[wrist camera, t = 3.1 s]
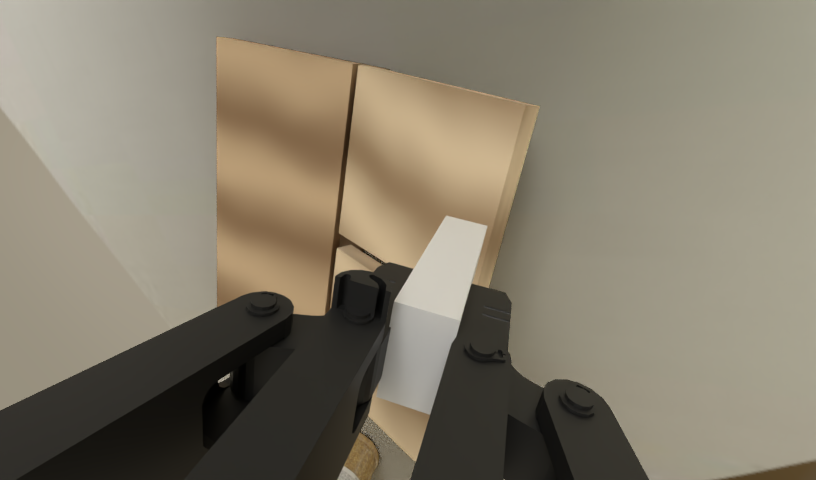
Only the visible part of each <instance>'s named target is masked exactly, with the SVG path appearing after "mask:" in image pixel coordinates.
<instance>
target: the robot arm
mask: <svg viewBox="0 0 816 480" xmlns="http://www.w3.org/2000/svg"><path fill="white" fill-rule="evenodd" d="M486 230H487V226H486V225H482V224H478V223H474V222H470V221H466V220H462V219H458V218H454V217H450V216H446V217H445V218H444V220H443V221H442V223H441V225H440V226H439V228H438V230H437V231H436V233H435V235H434V236H433V238H432V240H431V241H430V243H429V244H428V246H427V248H426V249H425V251H424V253H423V254H422V256H421V258H420V259H419V261H418V263H417V264H416V266H415V268H414V269H413V268H409V267H406V266H402V265H398V264H395V263H391V262H388V263H386V264H384V265H381V266H379V267H377V268H376V270H375V271H374V272H371V271H365V270H348V271H344V272H341V273H339V274H338V275H336V276H335V281H334V290H333V298H332V306H331V308H330V309H329V311H328V312H327V313H326V314H325V315H322V316H312V315H301V314H293V312H294V306H293V303H292V301H291V300H290V299H288V298H287V297H286V296H284V295H281V294H278V293H275V292H268V291H261V292H251V293H248V294H245V295H242V296H240V297H238V298H236V299H234V300H231V301H229V302H227V303H225V304H223V305H221V306H219V307H217V308H215V309H213V310H210V311H208V312H206V313H204V314H202V315H200V316H198V317H196V318H194V319H192V320H189V321H187V322H185V323H183V324H181V325H179V326H177V327H175V328H173V329H171V330H169V331H166V332H164V333H162V334H160V335H158V336H156V337H154V338H152V339H150V340H148V341H145V342H143V343H141V344H139V345H137V346H135V347H133V348H131V349H129V350H127V351H124V352H122V353H120V354H118V355H116V356H114V357H112V358H110V359H108V360H106V361H103V362H101V363H99V364H97V365H95V366H93V367H91V368H89V369H87V370H84V371H82V372H81V373H78V374H76V375H74V376H72V377H70V378H68V379H66V380H63V381H62V382H59V383H57V384H55V385H53V386H51V387H49V388H47V389H45V390H42V391H40V392H38V393H36V394H34V395H32V396H30V397H28V398H26V399H24V400H22V401H20V402H17V403H15V404H13V405H11V406H9V407H7V408H5V409H3V410H1V411H0V480H337V479H338V477H339V475H340V473H341V471H342V469H343V466H344V464H345V462H346V460H347V458H348V456H349V454H350V452H351V450H352V448H353V445H354V443H355V441H356V439H357V437H358V435H359V433H360V431H361V429H362V427H363V424H364V422H365V420H366V418H367V416H368V414H369V411H370V406H371V401H372V395H373V393H374V391H375V389H376V387H377V385H378V389H377V395H376V397H378V398H381V399H384V400H387V401H390V402H393V403H396V404H399V405H402V406H405V407H408V408H411V409H414V410H417V411H420V412H423V413H426V414H429V415H430V417H429V420H428V423H427V427H426V430H425V433H424V437H423V440H422V443H421V447H420V450H419V453H418V457H417V460H416V463H415V467H414V470H413V473H412V477H411V480H503V479H505V480H649V479H648V477H647V475H646V473H645V471H644V469H643V468H642V466H641V464H640V462H639V460H638V458H637V457H636V455H635V453H634V451H633V449H632V447H631V445H630V444H629V442H628V440H627V438H626V436H625V434H624V433H623V431H622V429H621V427H620V425H619V423H618V422H617V420H616V418H615V416H614V414H613V412H612V410H611V409H610V407H609V406H608V405H607V403H606V402H605V401H604V399H603V398H602V397H600V396H599V395H598V394H597V393H595V392H594V391H593V390H592V389H590V388H588V387H586V386H584V385H582V384H580V383H577V382H573V381H570V380H558V379H555V380H553V381H550V382H548V383H547V384H546V386H545V387H544V388H542V387H540V386H538V385H536V384H535V383H533V382H531V381H529V380H528V379H526V378H525V377H523V376H522V375H521V374H519V373H518V372H517V371H516V370H515V369H514V367H513V366H512V365H511V357H510V354H509V353H508V340H509V328H510V316H511V315H510V314H511V304H512V303H511V301H510V300H509V298H508V297H507V295H506V293H504V292H501V291H497V290H493V289H490V288H486V287H483V286H479V285H475V284H472V283H473V279H474V276H475V272H476V268H477V264H478V260H479V257H480V253H481V249H482V245H483V241H484V238H485V234H486ZM229 373H230V377H229V378H227V379H226V380H224V381H222V382H220V383H218V380H219V379H221V378H222V377H224V376H226V375H227V374H229ZM378 383H379V384H378Z"/></svg>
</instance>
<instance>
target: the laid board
mask: <svg viewBox="0 0 816 480" xmlns="http://www.w3.org/2000/svg"><path fill="white" fill-rule="evenodd" d="M216 55H217V307H219V306H221V305H223V304H225V303H227V302H229V301H231V300H234V299H236V298H238V297H240V296H242V295H245V294H248V293H251V292H261V291H268V292H275V293H278V294H281V295H284V296H286V297H287V298H288V299H290V300H291V301H292V303H293V306H294V312H293V314H301V315H312V316H322V315H325V314H326V313H327V312H328V311H329V309H330V302H331V294H332V285H333V277H334V268H335V260H336V251H337V248H339V247H343V246H348V245H352V246H354V247H355V248H357V249H359V250H360V251H362V252H363V250H364V249H363V248H361V247H360V246H358V245H357V244H355V243H354V242H352V241H350V240H349V239H347V238H346V237H344V236H343V235H341V234H339V226H340V217H341V208H342V200H343V191H344V183H345V174H346V166H347V157H348V149H349V140H350V132H351V123H352V115H353V106H354V98H355V89H356V81H357V72H358V65H365V66H371V65H366V64H361V63H356V62H351V61H346V60H341V59H336V58H330V57H325V56H320V55H315V54H310V53H305V52H300V51H295V50H290V49H285V48H280V47H275V46H270V45H264V44H259V43H254V42H249V41H244V40H239V39H234V38H225V37H216ZM372 67H376V66H372ZM377 68H381V67H377ZM381 69H386V68H381ZM386 70H390V69H386Z"/></svg>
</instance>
